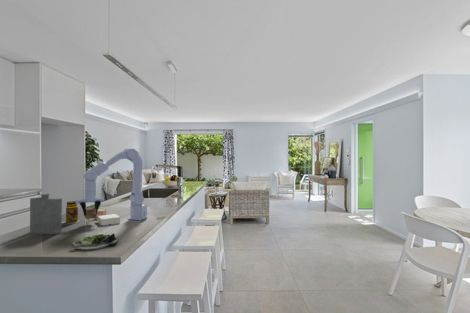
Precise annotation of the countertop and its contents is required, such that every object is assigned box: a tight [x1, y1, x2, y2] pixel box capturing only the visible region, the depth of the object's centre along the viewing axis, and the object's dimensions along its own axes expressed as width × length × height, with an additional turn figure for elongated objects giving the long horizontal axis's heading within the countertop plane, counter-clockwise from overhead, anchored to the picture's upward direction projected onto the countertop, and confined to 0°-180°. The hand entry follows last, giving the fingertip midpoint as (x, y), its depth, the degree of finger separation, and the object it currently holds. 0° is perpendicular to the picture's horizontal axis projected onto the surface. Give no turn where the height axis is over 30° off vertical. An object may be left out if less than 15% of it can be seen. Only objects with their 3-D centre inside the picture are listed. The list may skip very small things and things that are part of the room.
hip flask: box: [29, 193, 63, 235], centre depth 144 cm, size 16×4×20 cm, turn 87°
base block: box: [97, 213, 121, 226], centre depth 166 cm, size 10×10×4 cm
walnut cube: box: [84, 207, 96, 220], centre depth 162 cm, size 5×5×5 cm
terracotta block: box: [94, 208, 107, 220], centre depth 178 cm, size 5×5×5 cm
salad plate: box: [69, 233, 119, 251], centre depth 127 cm, size 19×18×5 cm
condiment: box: [62, 200, 82, 224], centre depth 167 cm, size 7×8×12 cm
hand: (90, 214), depth 162 cm, fingers closed on walnut cube, 5 cm apart
